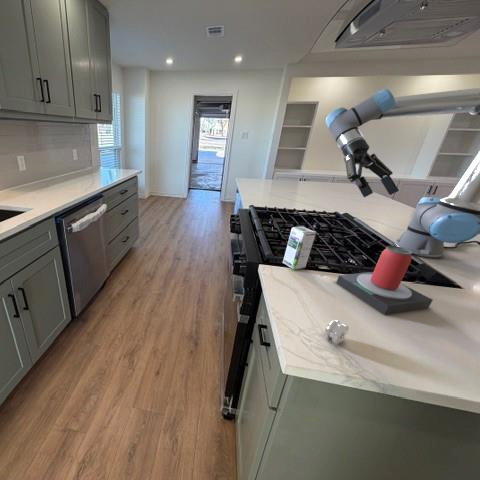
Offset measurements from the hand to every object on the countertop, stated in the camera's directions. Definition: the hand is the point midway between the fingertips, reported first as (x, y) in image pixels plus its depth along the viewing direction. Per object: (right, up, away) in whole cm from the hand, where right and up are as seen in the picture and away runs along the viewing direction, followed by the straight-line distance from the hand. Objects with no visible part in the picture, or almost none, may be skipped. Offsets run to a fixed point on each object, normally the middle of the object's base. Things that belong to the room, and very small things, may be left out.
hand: (381, 194), depth 88 cm
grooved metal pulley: (-36, -40, -27) cm, 60 cm away
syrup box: (-27, -26, +7) cm, 38 cm away
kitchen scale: (-9, -33, -9) cm, 35 cm away
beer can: (-9, -30, -10) cm, 33 cm away
